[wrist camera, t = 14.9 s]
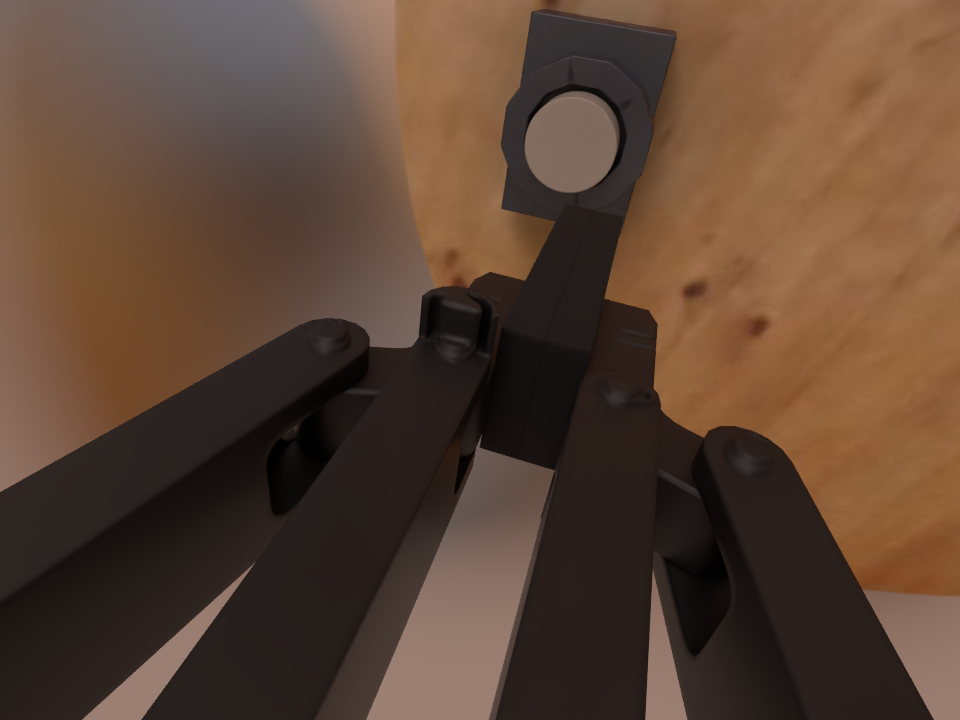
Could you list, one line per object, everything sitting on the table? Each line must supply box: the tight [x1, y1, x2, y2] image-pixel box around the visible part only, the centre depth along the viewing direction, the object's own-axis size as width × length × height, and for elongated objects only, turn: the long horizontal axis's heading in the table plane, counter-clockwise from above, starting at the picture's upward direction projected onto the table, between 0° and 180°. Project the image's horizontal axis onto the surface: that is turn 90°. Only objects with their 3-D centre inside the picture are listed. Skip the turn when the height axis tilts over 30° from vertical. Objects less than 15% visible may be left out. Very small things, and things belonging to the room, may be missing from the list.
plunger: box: [525, 91, 620, 193], centre depth 28 cm, size 4×4×2 cm
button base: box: [501, 9, 676, 235], centre depth 31 cm, size 10×7×5 cm
